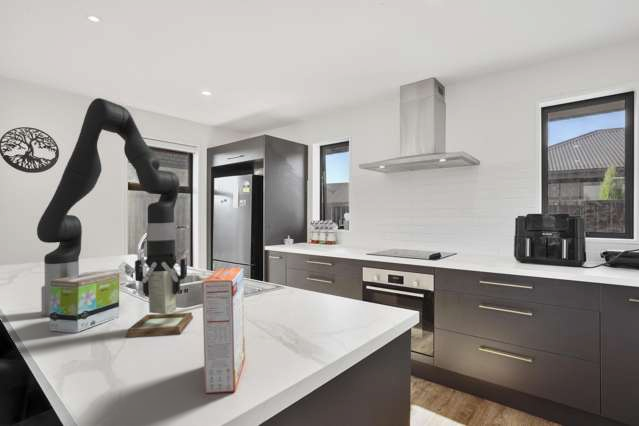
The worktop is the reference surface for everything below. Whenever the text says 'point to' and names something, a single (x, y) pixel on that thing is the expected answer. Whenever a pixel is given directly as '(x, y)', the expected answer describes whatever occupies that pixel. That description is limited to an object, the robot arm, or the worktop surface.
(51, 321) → the tea box
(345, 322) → the worktop surface
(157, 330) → the brown wooden picture frame
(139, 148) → the robot arm
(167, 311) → the skincare box
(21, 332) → the worktop surface
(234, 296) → the cracker box
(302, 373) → the worktop surface
